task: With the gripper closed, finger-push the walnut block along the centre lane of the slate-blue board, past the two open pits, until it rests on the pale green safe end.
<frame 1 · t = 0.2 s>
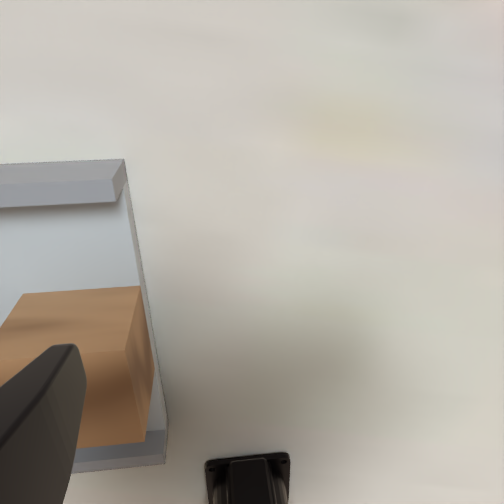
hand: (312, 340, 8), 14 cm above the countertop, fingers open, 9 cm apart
walnut block: (93, 333, 23), point 1 cm above the countertop, touching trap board
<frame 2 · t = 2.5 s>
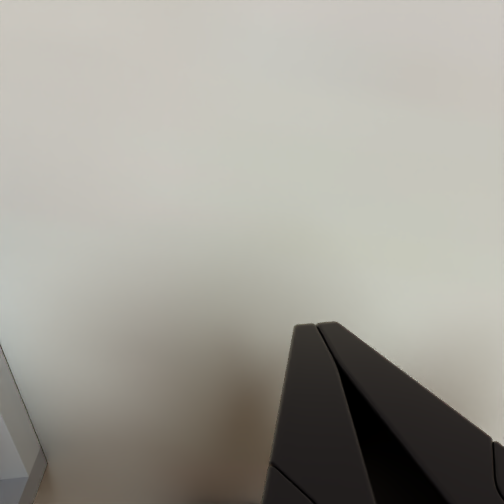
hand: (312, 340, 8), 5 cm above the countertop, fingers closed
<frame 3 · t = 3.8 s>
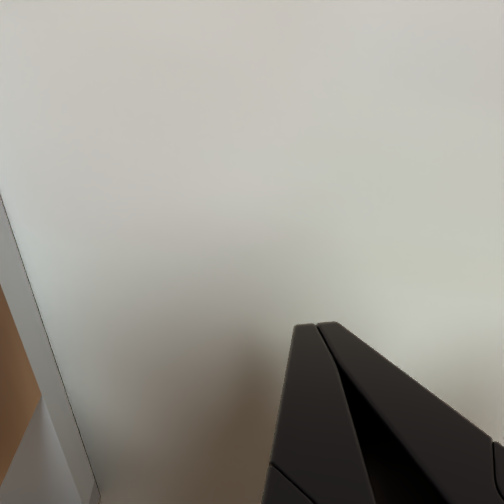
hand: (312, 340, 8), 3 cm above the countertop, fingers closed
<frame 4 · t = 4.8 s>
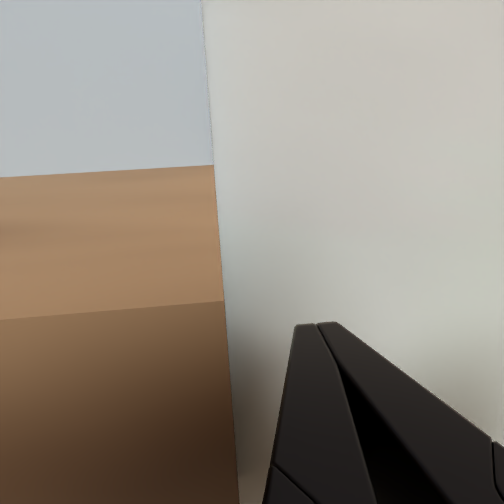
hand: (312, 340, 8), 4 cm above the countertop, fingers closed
walnut block: (96, 295, 10), point 1 cm above the countertop, touching gripper, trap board
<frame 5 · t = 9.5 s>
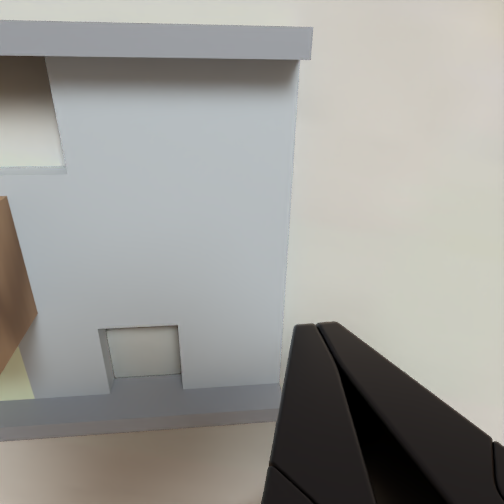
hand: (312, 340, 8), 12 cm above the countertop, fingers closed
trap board: (69, 248, 20), on the countertop
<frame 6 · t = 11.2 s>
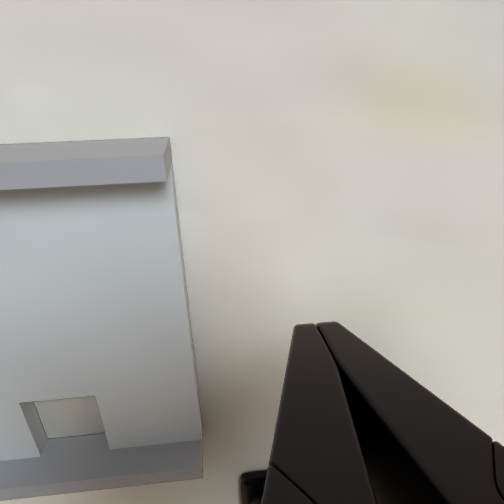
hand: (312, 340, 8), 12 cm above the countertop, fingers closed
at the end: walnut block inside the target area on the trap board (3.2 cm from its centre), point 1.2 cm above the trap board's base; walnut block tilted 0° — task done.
